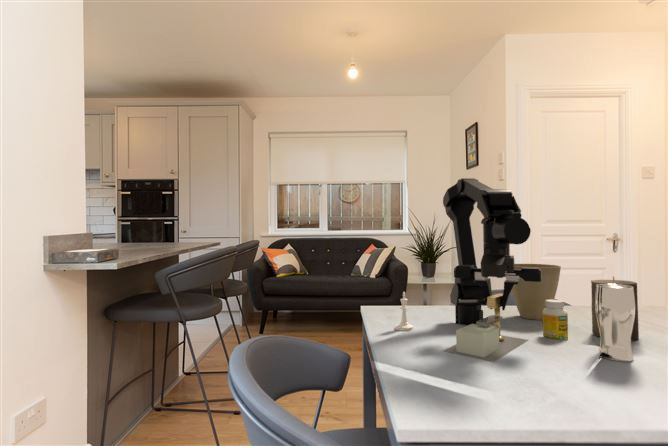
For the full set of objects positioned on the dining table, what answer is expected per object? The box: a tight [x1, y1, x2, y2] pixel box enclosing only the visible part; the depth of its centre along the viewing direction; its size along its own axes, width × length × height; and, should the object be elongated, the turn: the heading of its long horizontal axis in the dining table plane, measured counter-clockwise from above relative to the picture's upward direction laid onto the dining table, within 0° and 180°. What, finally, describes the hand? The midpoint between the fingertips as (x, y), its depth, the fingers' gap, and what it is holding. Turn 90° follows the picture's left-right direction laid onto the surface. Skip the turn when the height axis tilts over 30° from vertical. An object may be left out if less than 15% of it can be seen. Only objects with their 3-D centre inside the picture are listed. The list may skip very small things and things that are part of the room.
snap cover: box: [455, 324, 499, 357], centre depth 88 cm, size 6×8×4 cm
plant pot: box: [511, 263, 561, 321], centre depth 125 cm, size 15×15×16 cm
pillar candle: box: [590, 276, 640, 342], centre depth 103 cm, size 10×10×15 cm
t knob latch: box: [476, 293, 507, 341], centre depth 94 cm, size 3×12×10 cm, turn 137°
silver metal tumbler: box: [595, 284, 635, 363], centre depth 86 cm, size 7×7×15 cm
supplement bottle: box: [542, 299, 569, 342], centre depth 99 cm, size 5×5×10 cm
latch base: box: [442, 335, 529, 363], centre depth 91 cm, size 11×21×1 cm, turn 137°
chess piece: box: [394, 291, 414, 332], centre depth 112 cm, size 5×5×10 cm
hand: (497, 309), depth 96 cm, fingers closed on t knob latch, 2 cm apart
